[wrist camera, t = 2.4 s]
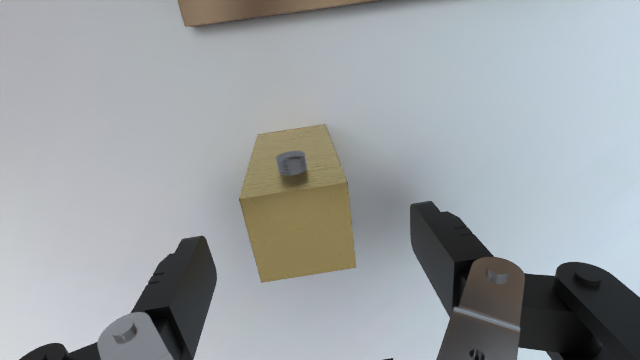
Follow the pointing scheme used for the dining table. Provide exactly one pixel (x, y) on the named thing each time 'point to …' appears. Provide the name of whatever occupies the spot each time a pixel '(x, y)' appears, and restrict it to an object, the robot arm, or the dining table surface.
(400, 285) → the dining table surface
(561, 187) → the dining table surface
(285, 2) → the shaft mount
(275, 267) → the tan block with knob
